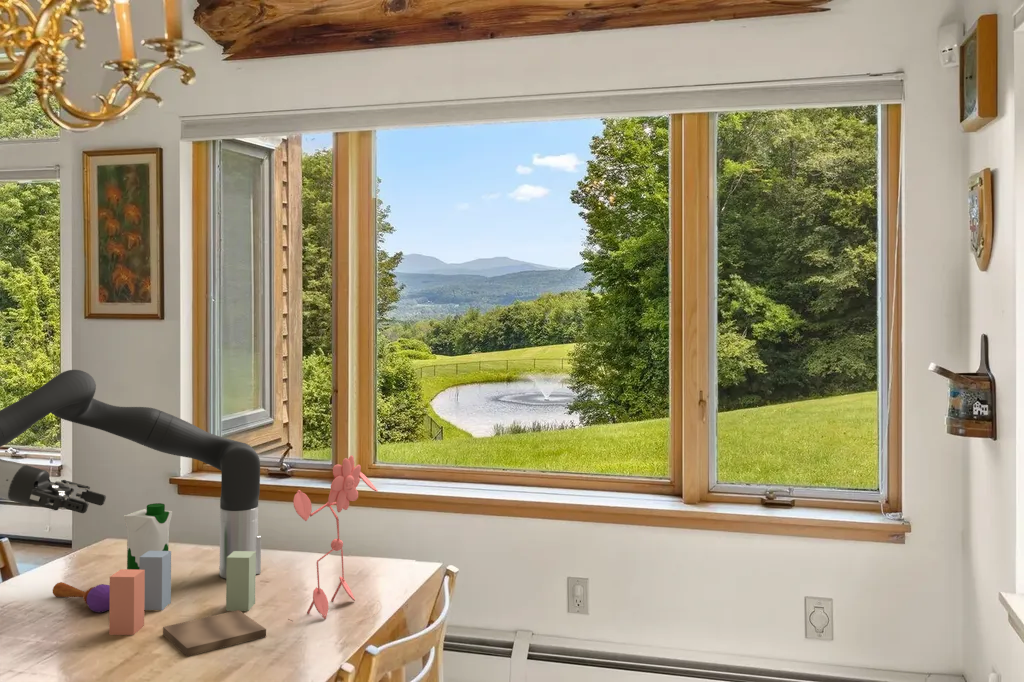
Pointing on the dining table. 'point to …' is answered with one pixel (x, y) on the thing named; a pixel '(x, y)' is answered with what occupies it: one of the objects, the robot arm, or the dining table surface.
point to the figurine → (342, 493)
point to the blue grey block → (157, 579)
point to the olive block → (240, 580)
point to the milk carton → (146, 532)
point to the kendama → (86, 595)
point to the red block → (126, 602)
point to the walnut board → (213, 632)
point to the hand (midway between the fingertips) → (95, 504)
